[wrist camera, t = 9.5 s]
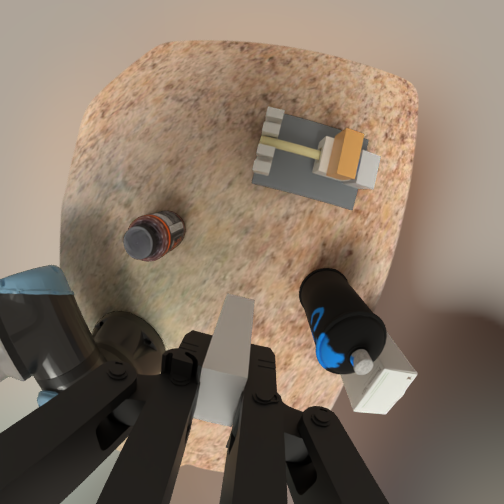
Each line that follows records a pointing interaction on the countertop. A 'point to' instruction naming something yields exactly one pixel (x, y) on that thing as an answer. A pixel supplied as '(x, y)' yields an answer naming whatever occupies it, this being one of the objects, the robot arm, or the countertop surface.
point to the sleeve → (339, 155)
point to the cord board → (306, 161)
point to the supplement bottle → (154, 235)
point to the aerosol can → (341, 323)
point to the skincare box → (380, 381)
